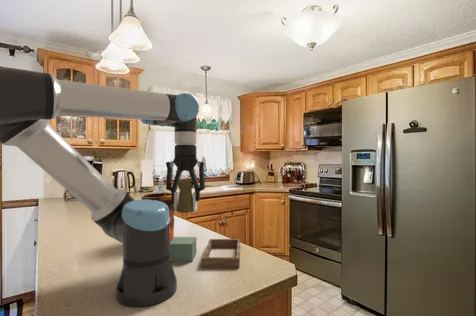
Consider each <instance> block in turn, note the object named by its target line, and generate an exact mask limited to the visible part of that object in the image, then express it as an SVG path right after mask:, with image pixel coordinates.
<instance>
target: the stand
mask: <svg viewBox="0 0 476 316" xmlns="http://www.w3.org/2000/svg"><path fill="white" fill-rule="evenodd" d="M196 256H197V236H174V238H173V240H172V241H171V242H170V262H171V263H174V262H175V263H181V262H183V263H186V262H187V263H188V262H189V263H191V262H193V261H194V259H195V257H196Z"/></svg>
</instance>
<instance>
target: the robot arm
mask: <svg viewBox="0 0 476 316" xmlns="http://www.w3.org/2000/svg"><path fill="white" fill-rule="evenodd" d="M199 113H200V104H199V101H198V99H197V97H196V96H195V95H193V94H192V93H188V92H185V93H183V92H182V93H179V94H171V93H163V92H153V91H148V90H139V89H132V88H124V87H116V86H109V85H103V84H94V83H87V82H86V83H85V82H79V81H78V82H77V81H71V80H63V79H58V78H56V77H55V76H54V75H53V74H52V73H49V72H41V71H34V70H28V69H21V68H14V67H8V66H7V67H6V66H0V144H1V145H3V146H10V147H17V148H18V149H19V150H20V151H21V152H22V153H24V154H25V155H26V156H27V157H28V158H29V159H30V160H31V161H32V162H34V163H35V164H36V165H37V166H39V167H40V168H41V170H43V171H44V172H45V173H47V174H48V175H49V176H50V177H51V178H52V179H53V180H54V181H56V182H57V184H60V186H62V187H63V188H64V189H65V190H66V192H69V194H71V195H72V196H73V197H74V198H76V199H77V200H78V201H79V203H81V204H82V205H83V206H84V207H85V208H87V209H88V210H89V211H90V212H91V214H90V219H91V220H92V221H93V222H94V223H95V224H96V225H97V226H99V228H100V229H102V231H103V233H104V234H105V235H106V236H108V237H110V238H112V239H114V240H115V241H118V242H119V243H121V244H122V268H121V272H120V275H119V277H118V281H117V284H116V287H115V299H116V301H117V302H118V303H119V304H121V305H122V306H126V307H132V308H133V307H135V308H136V307H137V308H139V307H148V306H149V307H150V306H152V305H157V304H160V303H162V302H164V301H166V300H167V299H169V298H171V297H172V296H173V295H174V294H175V293H176V291H177V288H178V287H177V286H178V282H177V281H178V280H177V276H176V274H175V270H174V268H173V264H172V262H170V228H169V222H170V215H169V208H168V206H167V205H166V204H165V203H163V202H161V201H157V200H142V199H136V200H135V198H134V197H132V196H131V194H129V193H128V191H126V190H125V189H124V188H121V189H120V188H119V189H118V188H116V187H115V186H114V185H112V184H111V183H110V182H109V181H108V180H107V179H106V178H105V177H104V176H103V175H102V174H101V173H100V172H99V171H98V170H97V169H96V168H95V167H94V166H93V165H92V164H91V163H90V162H89V161H87V159H86V158H85V157H84V156H82V155H81V153H80V152H78V151H77V149H75V147H73V146H72V145H71V144H70V142H68V141H67V140H66V139H65V138H64V137H63V136H62V135H61V134H60V132H58V131H57V130H56V129H55V128H54V127H53V126H52V125H51V124H50V121H53V120H54V119H55V118H57V117H59V116H64V117H84V118H86V117H88V118H104V119H105V118H106V119H107V118H108V119H123V120H124V119H125V120H140V121H141V122H142V124H144V125H151V126H162V127H173V128H174V144H175V145H174V159H173V160H171V161H166V162H165V165H166V169H167V170H166V181H165V182H166V183H165V189H166V190H167V191H169V192H170V193H171V199H172V201H174V212H177V207H178V199H179V191H180V190H179V191H177V190H178V188H179V187H178V183H179V181H181V180H180V179H181V176H182V175H183V172H184V171H185V172H188V174H189V176H190V180H191V181H192V182H193V189H194V191H192V197H193V211H194V212H196V211H197V210H198V202H199V201H200V200H201V191H204V190H206V185H205V184H206V183H205V182H206V181H205V170H204V169H205V166H206V162H205V161H200V160H198V158H197V157H198V156H197V145H195V144H197V116H198V115H199ZM174 166H176V171H175V175H174V180H173V172H174V171H173V170H174ZM196 166H197V167H198V175H199V181H198V179H197V175H196V171H195V167H196Z"/></svg>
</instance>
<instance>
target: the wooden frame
mask: <svg viewBox="0 0 476 316" xmlns="http://www.w3.org/2000/svg"><path fill="white" fill-rule="evenodd" d="M213 248H226V249H227V248H234V249H235V248H236V256H232V257H231V256H229V257H228V256H227V257H226V256H223V257H222V256H219V257H218V256H217V257H215V256H213V257H212V256H211V251H212V249H213ZM210 256H211V257H210ZM240 260H241V238H217V239H216V238H210V239H209V240H208V242H207V245H206V248H205V249H204V252H203V254H202V257H201V269H209V268H210V269H233V268H234V269H236V268H240V262H241V261H240Z"/></svg>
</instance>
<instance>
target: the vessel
mask: <svg viewBox="0 0 476 316" xmlns="http://www.w3.org/2000/svg"><path fill="white" fill-rule="evenodd" d="M141 200H157V201H161V202H163V203H165V204H166V205H167V206H168V208H169V215H170V222H169V228H170V242H171V241H172V240H173V238H174V237H175V235H174V234H175V232H174V231H175V211H174V201H172V199H171V192H170V191H169V192H168V191H167V192H159V193H158V192H156V193H147V194H143V195H142V196H141Z"/></svg>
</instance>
